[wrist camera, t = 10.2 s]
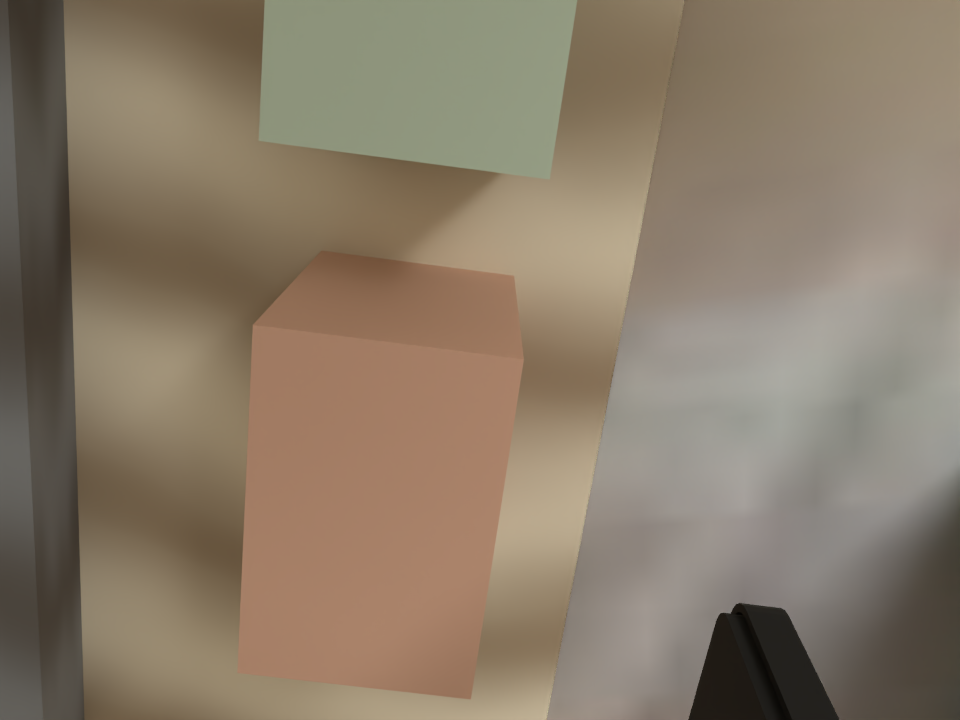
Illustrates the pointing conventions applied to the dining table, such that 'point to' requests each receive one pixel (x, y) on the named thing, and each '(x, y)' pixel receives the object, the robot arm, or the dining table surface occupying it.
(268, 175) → the shelf board
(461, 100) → the green cuboid
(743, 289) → the dining table surface
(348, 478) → the salmon block
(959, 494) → the dining table surface
